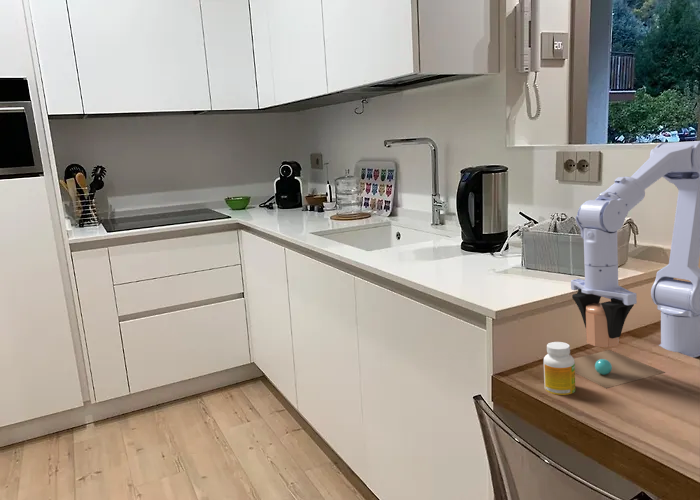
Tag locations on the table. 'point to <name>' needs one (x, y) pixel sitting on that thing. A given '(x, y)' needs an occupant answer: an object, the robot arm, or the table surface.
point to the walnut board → (613, 369)
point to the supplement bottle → (559, 369)
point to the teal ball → (603, 366)
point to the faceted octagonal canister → (598, 327)
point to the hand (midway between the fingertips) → (602, 332)
